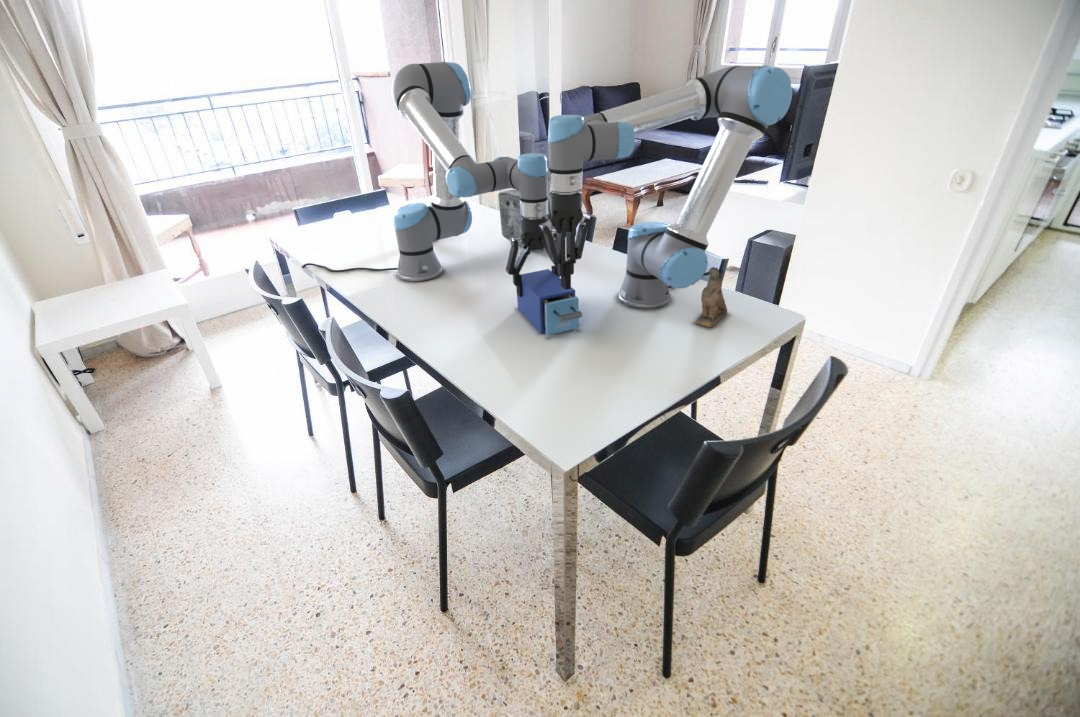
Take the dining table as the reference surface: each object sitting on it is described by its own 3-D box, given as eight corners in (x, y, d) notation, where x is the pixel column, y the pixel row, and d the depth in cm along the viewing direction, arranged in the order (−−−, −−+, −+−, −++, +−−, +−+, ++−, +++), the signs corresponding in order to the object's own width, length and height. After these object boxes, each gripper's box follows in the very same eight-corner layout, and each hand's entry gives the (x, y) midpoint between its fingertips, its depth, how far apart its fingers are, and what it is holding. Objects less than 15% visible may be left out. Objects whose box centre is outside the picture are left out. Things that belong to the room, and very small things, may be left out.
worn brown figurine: (709, 335, 136) (713, 280, 124) (691, 329, 139) (693, 274, 128) (730, 313, 142) (736, 258, 130) (712, 307, 145) (716, 253, 133)
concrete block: (558, 253, 189) (557, 199, 178) (539, 258, 184) (537, 204, 174) (519, 237, 207) (516, 187, 197) (501, 241, 203) (497, 191, 193)
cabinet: (575, 325, 139) (575, 290, 133) (540, 333, 135) (539, 297, 130) (549, 301, 153) (548, 268, 147) (517, 308, 149) (515, 275, 144)
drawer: (587, 336, 131) (588, 305, 127) (555, 344, 128) (555, 313, 124) (553, 304, 149) (552, 277, 144) (524, 311, 146) (523, 282, 141)
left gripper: (498, 225, 127) (504, 304, 138) (579, 213, 134) (578, 288, 146) (489, 218, 133) (496, 294, 144) (566, 207, 140) (567, 280, 152)
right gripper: (546, 197, 108) (548, 297, 120) (599, 190, 112) (595, 287, 124) (533, 190, 114) (536, 286, 126) (583, 184, 118) (581, 277, 130)
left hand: (537, 291), depth 145 cm, fingers closed on cabinet, 10 cm apart
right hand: (565, 287), depth 125 cm, fingers closed
